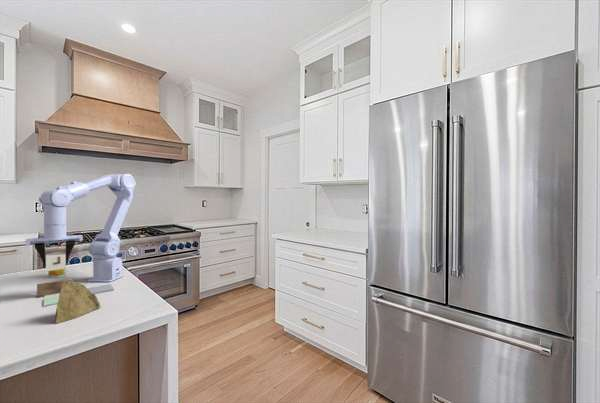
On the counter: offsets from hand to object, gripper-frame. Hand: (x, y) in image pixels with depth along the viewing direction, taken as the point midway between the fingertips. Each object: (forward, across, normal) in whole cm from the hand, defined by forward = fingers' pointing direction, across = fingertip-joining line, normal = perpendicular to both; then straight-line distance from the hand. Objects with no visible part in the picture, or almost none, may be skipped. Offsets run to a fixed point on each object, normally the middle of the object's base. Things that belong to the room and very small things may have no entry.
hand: (55, 263), depth 93 cm
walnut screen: (+10, 0, -1) cm, 11 cm away
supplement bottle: (+11, -1, -26) cm, 28 cm away
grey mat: (+10, -12, +6) cm, 17 cm away
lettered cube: (+2, 0, 0) cm, 2 cm away
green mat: (+10, 0, +8) cm, 13 cm away
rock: (+11, -4, +25) cm, 28 cm away
